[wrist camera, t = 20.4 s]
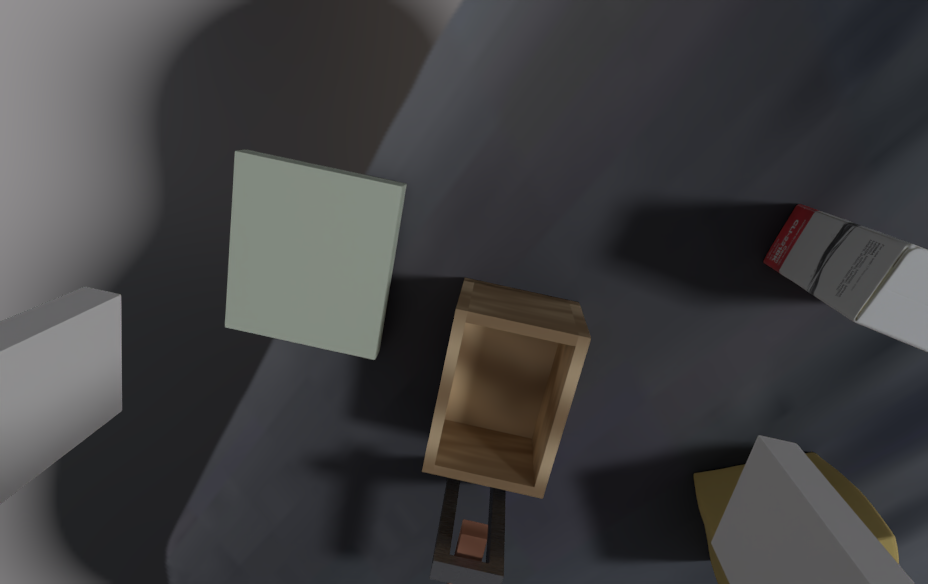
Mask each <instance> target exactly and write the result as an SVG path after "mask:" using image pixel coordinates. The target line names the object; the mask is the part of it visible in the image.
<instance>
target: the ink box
mask: <svg viewBox="0 0 928 584" xmlns="http://www.w3.org/2000/svg"><path fill="white" fill-rule="evenodd" d="M763 263H765V264H766V265H768V266H769V267H771V268H772V269H774V270H776V271H777V272H778V273H780V274H781V275H783V276H785V277H786V278H788V279H790V280H791V281H793V282H794V283H796V284H797V285H799V286H800V287H802V288H803V289H805V290H806V291H808V292H809V293H811V294H812V295H814V296H815V297H816V298H818V299H819V300H821V301H823V302H824V303H825V304H827V305H828V306H830V307H832V308H833V309H835V310H836V311H838V312H840V313H841V314H843V315H844V316H845V317H847V318H849V319H850V320H852V321H853V322H855V323H858V324H860V325H863V326H865V327H867V328H870V329H872V330H875V331H877V332H880V333H882V334H884V335H887V336H889V337H892V338H894V339H897V340H899V341H901V342H904V343H906V344H909V345H911V346H914V347H916V348H919V349H921V350H923V351H926V352H928V250H927V249H924V248H922V247H919V246H917V245H914V244H911V243H908V242H905V241H902V240H900V239H897V238H894V237H891V236H889V235H886V234H883V233H880V232H878V231H875V230H872V229H869V228H867V227H864V226H861V225H858V224H855V223H853V222H850V221H847V220H844V219H841V218H839V217H836V216H833V215H830V214H827V213H824V212H822V211H819V210H816V209H813V208H810V207H807V206H805V205H802V204H798V205H796V207H795V208H794V210H793V212H792V213H791V215H790V217H789V218H788V220H787V222H786V223H785V225H784V226H783V228H782V229H781V231H780V233H779V234H778V236H777V238H776V239H775V241H774V243H773V244H772V246H771V248H770V250H769V252H768V253H767V255H766V257H765V259H764V261H763Z"/></svg>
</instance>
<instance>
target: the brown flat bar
mask: <svg viewBox="0 0 928 584" xmlns="http://www.w3.org/2000/svg"><path fill="white" fill-rule="evenodd" d="M487 535H488V525H486V524H482V523H477V522H473V521H469V520H464V519H463V522H462V526H461V530H460V534H459V538H458V542H457V547H456V551H455V555H454V556H457V557H462V558H466V559H471V560H475V561H479V562H481V561H482V557H483V554H484V550H485V546H486V542H487ZM447 584H451V583H447Z"/></svg>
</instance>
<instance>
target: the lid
mask: <svg viewBox="0 0 928 584" xmlns="http://www.w3.org/2000/svg"><path fill="white" fill-rule="evenodd" d="M406 185H407V184H405V183H401V182H396V181H391V180H387V179H382V178H377V177H373V176H368V175H363V174H359V173H354V172H349V171H345V170H340V169H335V168H330V167H325V166H321V165H316V164H312V163H307V162H302V161H297V160H292V159H288V158H283V157H279V156H274V155H269V154H264V153H260V152H256V151H251V150H246V149H245V150H238V151H235V159H234V176H233V194H232V212H231V229H230V246H229V263H228V281H227V299H226V315H225V327H227V328H231V329H236V330H241V331H245V332H250V333H254V334H259V335H264V336H268V337H272V338H277V339H281V340H286V341H291V342H295V343H300V344H304V345H309V346H313V347H318V348H322V349H327V350H331V351H336V352H341V353H345V354H350V355H354V356H359V357H363V358H368V359H372V360H375V359H376V357H377V355H378V353H379V352H380V346H381V340H382V333H383V327H384V321H385V315H386V309H387V302H388V296H389V290H390V284H391V278H392V272H393V265H394V259H395V253H396V247H397V241H398V234H399V228H400V222H401V216H402V210H403V204H404V197H405V191H406Z"/></svg>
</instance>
